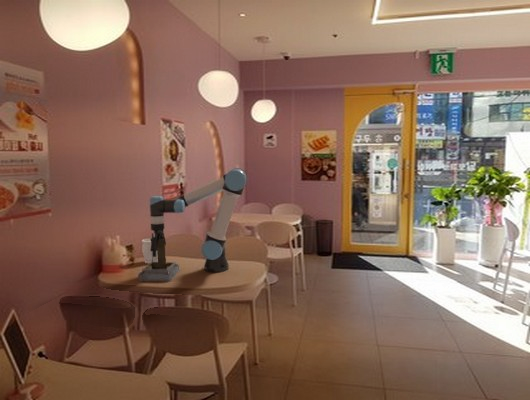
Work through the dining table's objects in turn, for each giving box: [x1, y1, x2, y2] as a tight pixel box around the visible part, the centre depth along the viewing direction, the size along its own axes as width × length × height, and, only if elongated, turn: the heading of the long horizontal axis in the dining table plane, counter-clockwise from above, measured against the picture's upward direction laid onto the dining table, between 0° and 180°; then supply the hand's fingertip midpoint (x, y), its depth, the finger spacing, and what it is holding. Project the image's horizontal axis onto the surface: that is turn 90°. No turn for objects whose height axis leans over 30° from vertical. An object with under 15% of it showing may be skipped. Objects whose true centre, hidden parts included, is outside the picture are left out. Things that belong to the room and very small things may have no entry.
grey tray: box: [137, 261, 180, 282], centre depth 240 cm, size 18×20×6 cm
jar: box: [141, 237, 152, 264], centre depth 269 cm, size 11×10×15 cm
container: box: [150, 237, 167, 269], centre depth 239 cm, size 9×9×18 cm
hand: (159, 258), depth 239 cm, fingers open, 13 cm apart
